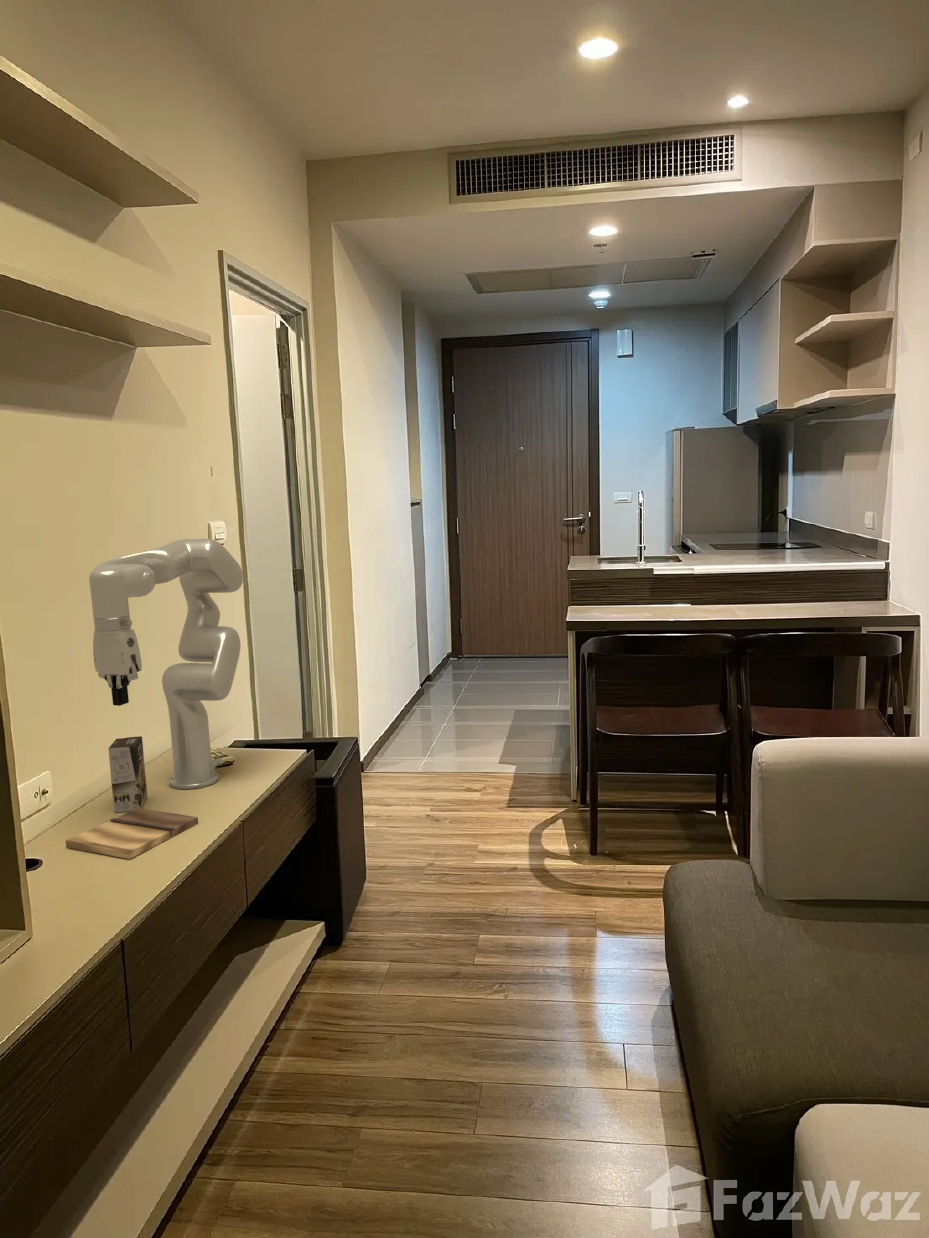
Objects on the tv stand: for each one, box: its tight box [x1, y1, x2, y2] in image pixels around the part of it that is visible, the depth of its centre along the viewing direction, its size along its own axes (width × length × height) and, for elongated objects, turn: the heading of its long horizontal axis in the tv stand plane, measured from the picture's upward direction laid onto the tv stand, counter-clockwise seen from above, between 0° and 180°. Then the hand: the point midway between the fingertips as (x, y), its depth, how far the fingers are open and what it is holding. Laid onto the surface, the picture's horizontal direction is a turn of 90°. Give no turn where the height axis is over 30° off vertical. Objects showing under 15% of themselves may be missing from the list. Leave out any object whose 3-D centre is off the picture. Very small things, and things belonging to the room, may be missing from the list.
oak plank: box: [65, 821, 171, 860], centre depth 190 cm, size 12×18×2 cm, turn 66°
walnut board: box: [109, 807, 199, 838], centre depth 200 cm, size 8×18×2 cm, turn 66°
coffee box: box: [107, 736, 148, 813], centre depth 212 cm, size 9×6×16 cm
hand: (121, 703), depth 198 cm, fingers closed
